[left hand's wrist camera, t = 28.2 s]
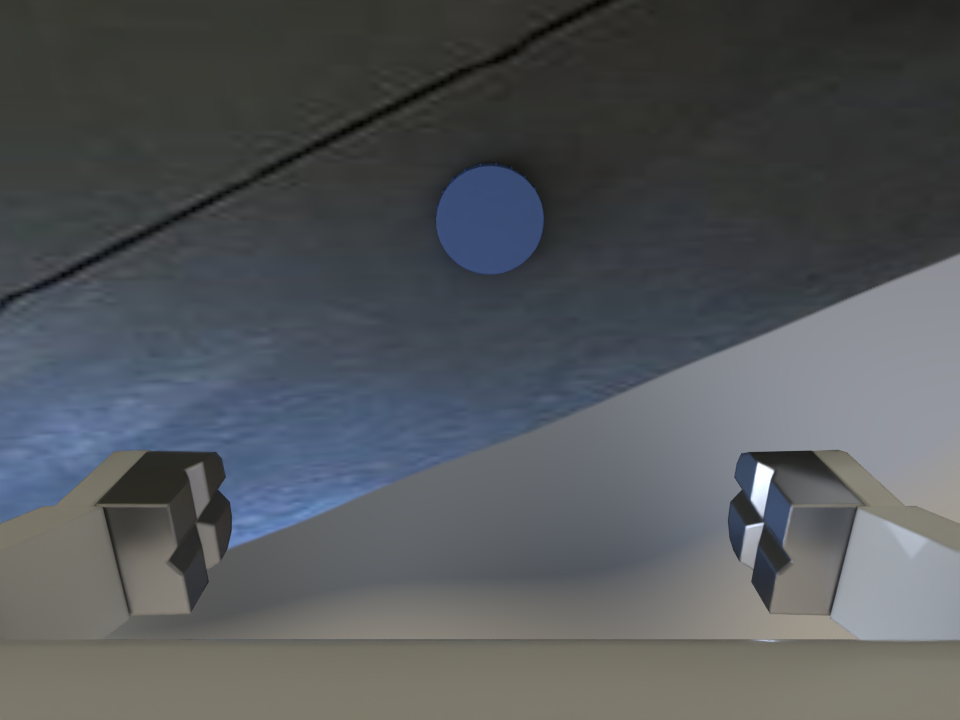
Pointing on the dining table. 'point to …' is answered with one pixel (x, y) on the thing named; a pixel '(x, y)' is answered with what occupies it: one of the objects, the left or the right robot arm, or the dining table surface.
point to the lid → (490, 218)
